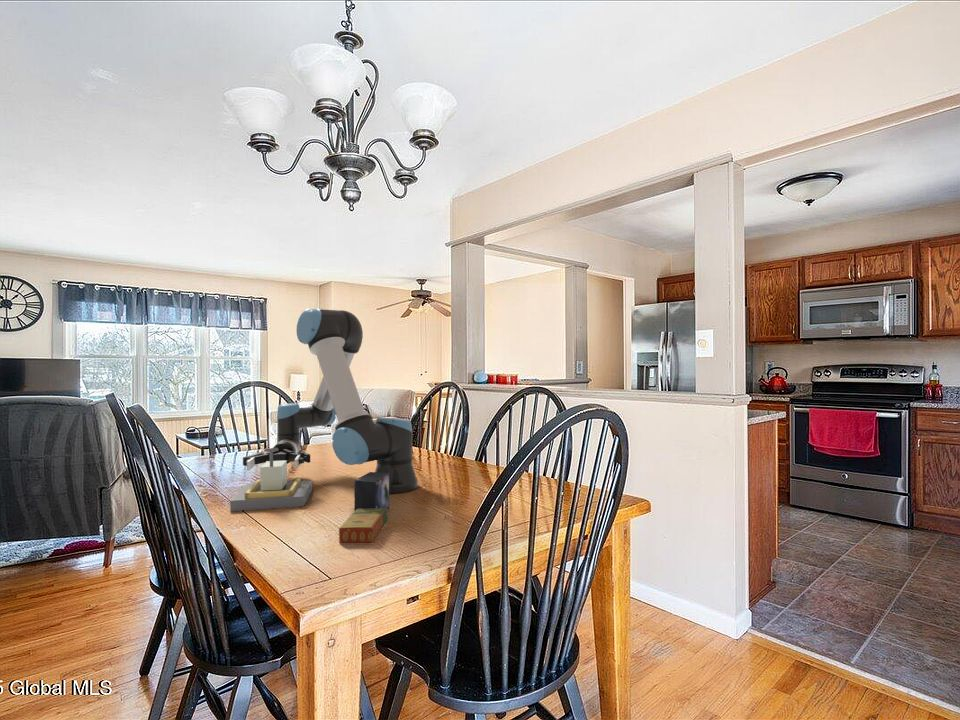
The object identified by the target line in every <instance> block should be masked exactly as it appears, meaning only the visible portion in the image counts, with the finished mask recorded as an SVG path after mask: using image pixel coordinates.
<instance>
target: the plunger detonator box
mask: <svg viewBox="0 0 960 720" xmlns="http://www.w3.org/2000/svg"><path fill="white" fill-rule="evenodd" d="M263 450H264V451H263V452H264V453H265V452H266V453H267V452H270V461H266V462H265V463H262V464H261V466H260V467H259V469H260V470H259V471H260V474H259V475H260V479H261V491H262V492H264V491H266V490H279V491H281V490H283V487H286V483H287V482H288V469H287V468H288V467H287V466H288V464H287V460H284V461H273V451H278V448H273V447H266V448H264V449H263Z"/></svg>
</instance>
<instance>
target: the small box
mask: <svg viewBox="0 0 960 720" xmlns="http://www.w3.org/2000/svg"><path fill="white" fill-rule="evenodd" d="M353 488H354V493H353V495H354V497H353V498H354V502H353V503H354V509H353V510H354V511H353V513H354V512H355V510H356V509H363V508H387V509H388V510H390V493H389V473H378V472H375V471H374V472H373V471H369V472H367V473H366V474H364V475H362V476H360V477H358V478H356V479H354V487H353Z"/></svg>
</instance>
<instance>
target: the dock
mask: <svg viewBox="0 0 960 720" xmlns="http://www.w3.org/2000/svg"><path fill="white" fill-rule="evenodd" d="M312 491H313V480H312V479H311V480H310V479H309V480H301V477H296V479H294V481H293V480H291V481H287V483H286V487H283V490H281V491H279V490H266V491H264V492H262V491H261V478H260V479H257V480H256V481H255V482H254V483H253V482H252V483H246V484H245V486H244V487H243V488H242V489H241V490H240V491H239V492H238V493H236V495H235V496H233V497H232V499H230V501H229V503H230V504H229V505H230V508H229V510H230V511H229V512H243V511H242V510H244V511H255V510H256V511H257V509H259V510H272V509H271V508H275V509H285V507H290V508H300V507H299V506H304V505H306V504H307V502H308V499H309V497H310V496H311V493H312ZM306 501H307V502H306ZM305 503H306V504H305ZM304 507H305V506H304Z"/></svg>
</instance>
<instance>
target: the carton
mask: <svg viewBox="0 0 960 720" xmlns="http://www.w3.org/2000/svg"><path fill="white" fill-rule="evenodd" d="M387 521H388V510H387V508H363V509H356V510H355V512H354V511H353V513H352V514H351V515H350V516H349V517H348V518H347V519H346V520H345V522H344V523H343V524H342V525H341V526H340V527H339V529H338V536H339V537H338V540H339V541H338V544H339V543H373V542H374V541H375V542H376V540H377V539H376V538H378V537H379V536H380V534H381V533H380V532H382V531H383V529H384V528H385V527H384V525H385V524H386V523H387V524H388V522H387ZM387 524H386V525H387ZM386 525H385V526H386ZM383 527H384V528H383ZM382 528H383V529H382ZM381 530H382V531H381ZM379 533H380V534H379ZM378 535H379V536H378ZM377 536H378V537H377ZM375 542H374V543H375ZM374 543H373V544H374Z"/></svg>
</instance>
